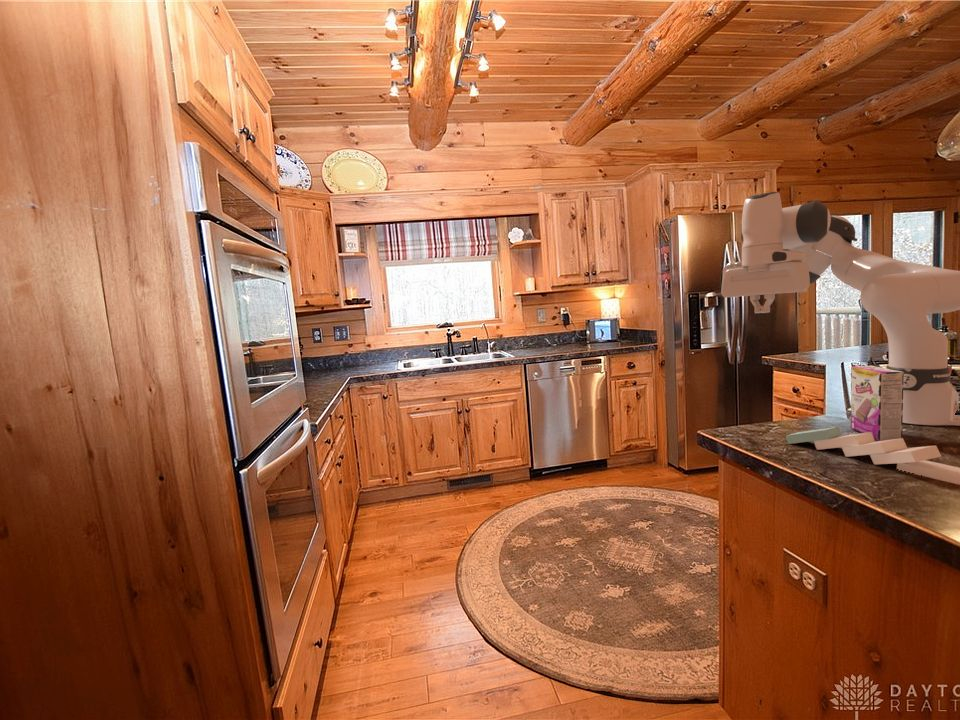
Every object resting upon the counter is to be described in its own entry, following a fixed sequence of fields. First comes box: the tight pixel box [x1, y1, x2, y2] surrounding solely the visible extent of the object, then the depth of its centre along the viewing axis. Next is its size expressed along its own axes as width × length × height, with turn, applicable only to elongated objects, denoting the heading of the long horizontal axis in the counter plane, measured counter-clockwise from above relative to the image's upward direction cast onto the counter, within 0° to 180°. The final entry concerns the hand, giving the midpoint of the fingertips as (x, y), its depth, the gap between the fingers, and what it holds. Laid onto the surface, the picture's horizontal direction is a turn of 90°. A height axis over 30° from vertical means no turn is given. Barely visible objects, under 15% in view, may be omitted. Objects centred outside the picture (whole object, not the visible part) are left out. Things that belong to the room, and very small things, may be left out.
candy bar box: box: [850, 365, 904, 441], centre depth 106 cm, size 11×5×16 cm, turn 168°
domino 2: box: [813, 432, 876, 451], centre depth 97 cm, size 5×2×9 cm
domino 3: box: [841, 437, 908, 458], centre depth 90 cm, size 5×2×9 cm
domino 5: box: [896, 460, 960, 485], centre depth 82 cm, size 5×2×9 cm
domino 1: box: [785, 426, 842, 445], centre depth 102 cm, size 5×2×9 cm
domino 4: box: [869, 445, 942, 465], centre depth 85 cm, size 5×2×9 cm
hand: (762, 312), depth 113 cm, fingers closed
